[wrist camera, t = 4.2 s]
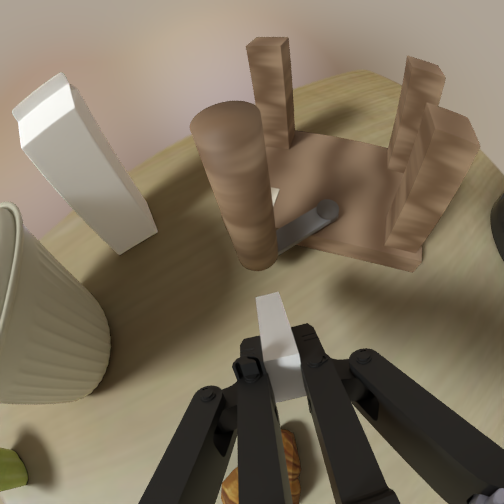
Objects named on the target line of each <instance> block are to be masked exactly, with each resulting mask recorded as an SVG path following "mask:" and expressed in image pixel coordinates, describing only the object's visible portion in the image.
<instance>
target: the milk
mask: <svg viewBox="0 0 504 504" xmlns="http://www.w3.org/2000/svg"><path fill="white" fill-rule="evenodd" d="M12 114H13V116H14V117H15V119H16V120H17V121H18V125H19V134H20V142H21V148H22V150H23V151H24V152H25V154H26V155H27V156H28V157H29V159H30V160H31V161H32V162H33V164H34V165H35V166H36V167H37V168H38V170H39V171H40V172H41V173H42V175H43V176H44V177H45V178H46V179H47V181H48V182H49V183H50V184H51V185H52V186H53V187H54V189H55V190H56V191H57V192H58V193H59V194H60V195H61V196H62V198H63V199H64V200H65V201H66V202H67V203H68V204H69V205H70V206H71V207H72V209H73V210H74V211H75V212H76V213H77V214H78V215H79V216H80V217H81V218H82V219H83V220H84V221H85V222H86V223H87V224H88V225H89V226H90V227H91V228H92V229H93V230H94V231H95V232H96V233H97V234H98V235H99V236H100V237H101V238H102V239H103V240H104V241H105V242H106V243H107V244H108V245H109V246H110V247H111V248H112V249H113V250H114V251H115V252H116V253H117V254H118V255H121V254H122V253H124V252H125V251H127V250H129V249H130V248H132V247H134V246H135V245H137V244H139V243H140V242H142V241H144V240H145V239H147V238H149V237H150V236H152V235H154V234H155V233H157V232H158V230H157V228H156V225H155V223H154V220H153V217H152V215H151V212H150V210H149V207H148V204H147V202H146V200H145V199H144V197H143V196H142V194H141V193H140V191H139V190H138V188H137V187H136V185H135V184H134V182H133V180H132V179H131V177H130V176H129V174H128V173H127V171H126V170H125V168H124V166H123V165H122V163H121V162H120V160H119V158H118V157H117V155H116V154H115V152H114V150H113V149H112V147H111V146H110V144H109V142H108V141H107V139H106V137H105V136H104V134H103V132H102V131H101V129H100V127H99V125H98V124H97V122H96V120H95V119H94V117H93V115H92V114H91V112H90V110H89V108H88V106H87V105H86V103H85V101H84V99H83V97H82V96H81V94H80V92H79V90H78V89H77V88H76V87H74V86H73V85H71V84H70V83H69V82H68V80H67V78H66V76H65V74H64V73H62V72H61V73H58V74H57V75H55V76H54V77H52V78H51V79H50V80H48V81H47V82H46V83H44V84H43V85H42V86H40V87H39V88H38V89H36V90H35V91H34V92H33V93H31V94H30V95H29V96H28V97H26V98H25V99H24V100H23V101H22V102H21V103H20V104H18V105H17V106H16V107H15V108H14V109H13V111H12Z"/></svg>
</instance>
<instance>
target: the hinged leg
mask: <svg viewBox="0 0 504 504" xmlns="http://www.w3.org/2000/svg"><path fill="white" fill-rule="evenodd" d="M190 131H191V133H192V136H193V139H194V141H195V144H196V147H197V150H198V152H199V155H200V158H201V160H202V163H203V166H204V169H205V171H206V174H207V177H208V179H209V182H210V185H211V187H212V190H213V193H214V195H215V198H216V200H217V203H218V206H219V208H220V211H221V214H222V216H223V219H224V222H225V224H226V227H227V229H228V232H229V235H230V237H231V240H232V242H233V245H234V248H235V250H236V253H237V255H238V258H239V260H240V262H241V264H242V265H243V266H244V267H245V268H247V269H249V270H253V271H262V270H265V269H267V268H269V267H271V266H272V265H273V264H274V263H275V261H276V259H277V257H278V255H280V254H281V253H283V252H285V251H286V250H288V249H290V248H291V247H293V246H294V245H296V244H298V243H299V242H301V241H302V240H304V239H306V238H307V237H309V236H310V235H312V234H314V233H315V232H317V231H318V230H320V229H322V228H323V227H325V226H326V225H328V224H330V223H332V222H334V221H336V219H337V218H338V216H339V214H338V213H339V206H338V204H337V203H336V202H335V201H333V200H330V199H324V200H321V201H320V202H319V203H318V204H317V207H315V208H313V209H312V210H310V211H308V212H307V213H305V214H303V215H302V216H300V217H298V218H297V219H295V220H293V221H291V222H290V223H288V224H286V225H285V226H283V227H281V228H280V229H278V230H276V227H275V218H274V210H273V201H272V193H271V185H270V178H269V170H268V162H267V155H266V148H265V140H264V133H263V126H262V119H261V113H260V110H259V108H258V107H257V106H255V105H254V104H252V103H248V102H244V101H227V102H222V103H218V104H215V105H212V106H210V107H208V108H206V109H204V110H202V111H201V112H200V113H198V114H197V115H196V116H195V117H194V118H193V120H192V121H191V124H190Z"/></svg>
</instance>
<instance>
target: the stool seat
mask: <svg viewBox="0 0 504 504" xmlns="http://www.w3.org/2000/svg"><path fill="white" fill-rule="evenodd" d="M246 50H247V55H248V61H249V66H250V72H251V78H252V84H253V90H254V96H255V103H256V106H257V107H258V108H259V110H260V113H261V119H262V126H263V133H264V140H265V148H266V155H267V162H268V170H269V178H270V185H271V193H272V201H273V210H274V218H275V227H276V230H278V229H280V228H281V227H283V226H285V225H286V224H288V223H290V222H291V221H293V220H295V219H297V218H298V217H300V216H302V215H303V214H305V213H307V212H308V211H310V210H312V209H313V208H315V207H317V204H318V203H319V202H320V201H321V200H324V199H330V200H333V201H335V202H336V203H337V204H338V206H339V213H338V214H339V216H338V218H337V219H336V221H334V222H332V223H330V224H328V225H326V226H325V227H323V228H322V229H320V230H318V231H317V232H315V233H314V234H312V235H310V236H309V237H307V238H306V239H304V240H302V241H301V242H299V243H298V244H296V245H299V246H303V247H308V248H312V249H316V250H321V251H325V252H329V253H334V254H338V255H342V256H347V257H351V258H355V259H359V260H363V261H368V262H372V263H376V264H380V265H384V266H388V267H392V268H397V269H401V270H405V271H409V272H414V271H415V269H416V268H417V267H418V266H419V265H420V263H421V262H422V244H423V243H424V241H425V240H426V238H427V237H428V236H429V234H430V233H431V231H432V230H433V228H434V227H435V225H436V224H437V222H438V221H439V219H440V218H441V216H442V214H443V213H444V211H445V210H446V208H447V207H448V205H449V203H450V202H451V200H452V198H453V197H454V195H455V193H456V192H457V190H458V188H459V186H460V185H461V183H462V181H463V179H464V178H465V176H466V174H467V172H468V170H469V168H470V166H471V165H472V163H473V161H474V159H475V157H476V155H477V153H478V151H479V149H480V144H479V141H478V139H477V137H476V134H475V132H474V130H473V128H472V125H471V123H470V121H469V119H468V118H467V117H465V116H463V115H460V114H458V113H455V112H453V111H450V110H447V109H445V108H442V107H439V106H438V105H439V101H440V98H441V94H442V90H443V87H444V83H445V79H446V78H445V76H444V74H443V73H442V71H441V69H440V68H439V66H438V65H435V64H432V63H429V62H426V61H423V60H420V59H417V58H414V57H410V56H407V60H406V67H405V73H404V79H403V84H402V90H401V95H400V100H399V105H398V109H397V114H396V118H395V123H394V127H393V131H392V135H391V139H390V143H389V147H388V148H385V147H381V146H376V145H372V144H368V143H363V142H359V141H354V140H349V139H344V138H339V137H333V136H328V135H322V134H316V133H309V132H302V131H295V124H294V104H293V88H292V74H291V61H290V49H289V38H288V37H256V38H255V39H254V40H253V41H252V42H250V43H249V44H248V45H247V46H246ZM222 219H223V216H222ZM223 221H224V219H223ZM224 224H225V222H224ZM225 227H226V224H225ZM226 229H227V227H226ZM227 230H228V229H227Z"/></svg>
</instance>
